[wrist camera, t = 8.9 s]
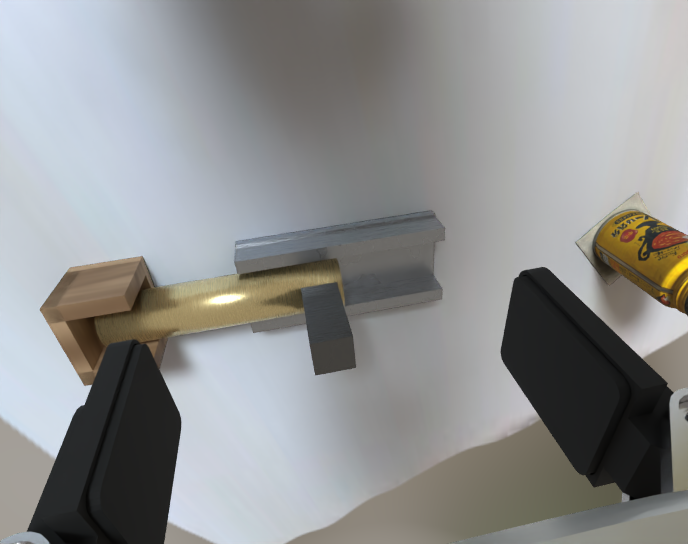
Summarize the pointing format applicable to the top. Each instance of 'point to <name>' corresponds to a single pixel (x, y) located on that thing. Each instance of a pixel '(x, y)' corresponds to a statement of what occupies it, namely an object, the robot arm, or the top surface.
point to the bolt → (245, 309)
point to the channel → (357, 261)
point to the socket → (95, 309)
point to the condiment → (641, 253)
